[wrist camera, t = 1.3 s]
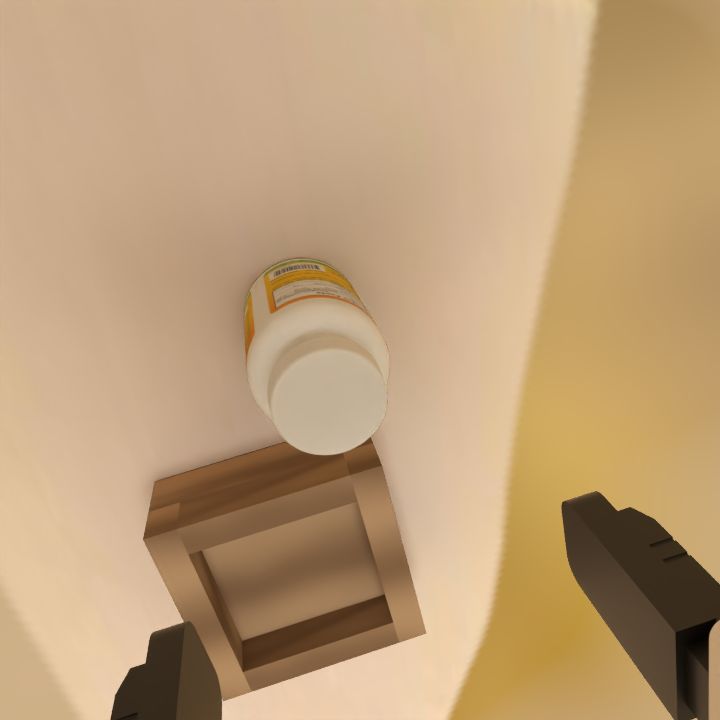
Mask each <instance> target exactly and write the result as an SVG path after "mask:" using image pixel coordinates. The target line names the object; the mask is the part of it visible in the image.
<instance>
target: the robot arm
mask: <svg viewBox="0 0 720 720" xmlns="http://www.w3.org/2000/svg"><path fill="white" fill-rule="evenodd" d="M562 517H563V525H564V533H565V541H566V550H567V557H568V561H569V565H570V567H571V570H572V572H573V575H574V577H575V579H576V581H577V582H578V584H579V586H580V587H581V588H582V590H583V591H584V593H585V594H586V595H587V597H588V598H589V600H590V601H591V603H592V604H593V605H594V607H595V608H596V610H597V611H598V613H599V614H600V615H601V617H602V618H603V620H604V621H605V622H606V624H607V625H608V627H609V628H610V630H611V631H612V632H613V634H614V635H615V637H616V638H617V639H618V641H619V642H620V643H621V645H622V647H623V648H624V649H625V651H626V652H627V653H628V655H629V656H630V658H631V659H632V661H633V662H634V664H635V665H636V666H637V668H638V669H639V671H640V672H641V673H642V675H643V676H644V678H645V679H646V681H647V682H648V683H649V685H650V686H651V688H652V689H653V690H654V692H655V693H656V695H657V696H658V697H659V699H660V700H661V702H662V703H663V704H664V706H665V707H666V709H667V710H668V712H669V713H670V714H671V716H672V717H673V719H674V720H692V719H694V718H697V719H698V720H720V584H719V583H718V582H717V581H716V580H715V579H714V578H713V577H712V576H711V575H710V574H709V573H708V572H707V571H706V570H705V569H704V568H703V567H702V566H701V565H700V564H699V563H698V562H697V561H696V560H695V559H694V558H693V557H692V556H691V555H690V556H689V555H688V554H687V551H686V550H685V549H684V548H683V547H682V546H681V545H680V544H679V543H678V542H677V541H674V540H673V538H672V536H671V535H670V534H669V533H668V532H667V531H666V530H665V529H664V528H663V527H662V526H661V525H660V524H659V523H658V522H657V521H656V520H655V519H653V518H651V517H649V516H647V515H645V514H643V513H641V512H639V511H637V510H635V509H633V508H631V507H629V508H626V509H623V510H620V511H617V510H616V509H615V508H614V507H613V506H612V505H611V504H610V503H609V502H608V501H607V499H606V498H605V497H604V496H603V495H602V494H601V493H599V492H597V491H595V492H592V493H589V494H585V495H582V496H579V497H577V498H573V499H570V500H567V501H564V502H563V503H562ZM111 720H222V696H221V689H220V683H219V679H218V676H217V673H216V670H215V668H214V666H213V664H212V662H211V660H210V658H209V656H208V654H207V652H206V650H205V647H204V645H203V643H202V641H201V639H200V637H199V635H198V633H197V631H196V629H195V627H194V625H193V624H192V623H191V622H190V621H187V622H184V623H181V624H178V625H174V626H171V627H168V628H165V629H162V630H159V631H156V632H153V633H152V634H151V636H150V640H149V646H148V652H147V658H146V663H145V664H142V665H139V666H136V667H133V668H130V670H129V672H128V674H127V675H126V677H125V679H124V681H123V682H122V684H121V686H120V688H119V689H118V691H117V693H116V695H115V700H114V705H113V710H112V715H111Z"/></svg>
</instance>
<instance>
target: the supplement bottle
mask: <svg viewBox="0 0 720 720" xmlns="http://www.w3.org/2000/svg"><path fill="white" fill-rule="evenodd" d="M244 329H245V350H246V371H247V377H248V383H249V387H250V390H251V393H252V395H253V398H254V400H255V401H256V403H257V404H258V406H259V407H260V409H261V410H262V411H263V412H264V413H265V414H266V415H267V416H268V417H269V418H270V419H271V420H272V421H273V423H274V426H275V427H276V429H277V431H278V432H279V434H280V435H281V436H282V437H283V438H284V439H285V440H286V441H287V442H288V443H289V444H290V445H292V446H294V447H295V448H297V449H299V450H301V451H303V452H306V453H310V454H315V455H334V454H339V453H343V452H346V451H349V450H351V449H353V448H355V447H357V446H359V445H360V444H362V443H364V442H365V441H366V440H367V439H368V438H369V437H371V436H372V435H373V433H374V432H375V431H376V430H377V428H378V427H379V425H380V424H381V422H382V420H383V418H384V415H385V413H386V409H387V403H388V392H387V386H386V385H387V382H388V377H389V371H390V359H389V352H388V348H387V345H386V342H385V340H384V337H383V336H382V334H381V332H380V330H379V328H378V327H377V325H376V324H375V322H374V321H373V319H372V318H371V316H370V314H369V313H368V311H367V310H366V308H365V306H364V305H363V303H362V302H361V300H360V298H359V297H358V295H357V294H356V292H355V290H354V289H353V287H352V286H351V284H350V283H349V282H348V280H347V279H346V278H345V277H344V276H343V275H342V274H341V273H340V272H339V271H338V270H336V269H335V268H334V267H332V266H330V265H328V264H326V263H323V262H321V261H317V260H313V259H292V260H287V261H284V262H281V263H278V264H276V265H274V266H272V267H271V268H269V269H268V270H266V271H265V272H264V273H263V274H262V275H261V276H260V277H259V278H258V279H257V280H256V281H255V283H254V284H253V286H252V287H251V289H250V291H249V293H248V296H247V299H246V302H245V308H244Z"/></svg>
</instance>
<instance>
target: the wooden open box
mask: <svg viewBox="0 0 720 720" xmlns="http://www.w3.org/2000/svg"><path fill="white" fill-rule="evenodd" d="M143 540H144V542H145V544H146V546H147V548H148V550H149V552H150V554H151V556H152V558H153V561H154V563H155V565H156V567H157V569H158V571H159V573H160V575H161V577H162V579H163V581H164V583H165V585H166V587H167V589H168V591H169V593H170V595H171V597H172V599H173V601H174V603H175V605H176V607H177V609H178V611H179V613H180V615H181V617H182V619H183V621H184V622H187V621H190V622H191V623H192V624H193V625H194V627H195V629H196V631H197V633H198V635H199V637H200V639H201V641H202V643H203V645H204V647H205V650H206V652H207V654H208V656H209V658H210V660H211V662H212V664H213V666H214V668H215V670H216V673H217V676H218V679H219V683H220V689H221V696H222V699H223V701H225V700H228V699H231V698H234V697H237V696H240V695H243V694H246V693H249V692H252V691H255V690H258V689H261V688H264V687H267V686H270V685H273V684H276V683H279V682H282V681H285V680H288V679H291V678H294V677H297V676H300V675H303V674H306V673H309V672H312V671H315V670H318V669H321V668H324V667H327V666H330V665H333V664H336V663H339V662H342V661H345V660H348V659H351V658H354V657H357V656H360V655H363V654H366V653H369V652H372V651H375V650H378V649H381V648H384V647H387V646H390V645H393V644H396V643H399V642H402V641H405V640H408V639H411V638H414V637H417V636H420V635H423V634H426V631H425V627H424V623H423V619H422V615H421V612H420V608H419V604H418V600H417V597H416V593H415V589H414V585H413V581H412V578H411V574H410V570H409V566H408V563H407V559H406V555H405V551H404V548H403V544H402V540H401V536H400V532H399V529H398V525H397V521H396V517H395V514H394V510H393V506H392V502H391V498H390V495H389V491H388V487H387V483H386V480H385V476H384V472H383V468H382V465H381V462H380V460H379V457H378V455H377V452H376V450H375V447H374V445H373V442H372V440H371V437H369V438H368V439H367V440H366V441H365V442H364V443H362V444H360V445H359V446H357V447H355V448H353V449H351V450H349V451H346V452H343V453H339V454H334V455H315V454H310V453H306V452H303V451H301V450H299V449H297V448H295V447H294V446H292V445H290V444H289V443H288V442H284V443H281V444H278V445H274V446H271V447H268V448H264V449H261V450H258V451H255V452H251V453H248V454H245V455H241V456H238V457H235V458H232V459H228V460H225V461H222V462H218V463H215V464H212V465H209V466H205V467H202V468H199V469H195V470H192V471H189V472H186V473H182V474H179V475H176V476H172V477H169V478H166V479H163V480H159V481H156V482H155V484H154V489H153V493H152V498H151V503H150V508H149V513H148V518H147V523H146V528H145V533H144V538H143Z"/></svg>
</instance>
